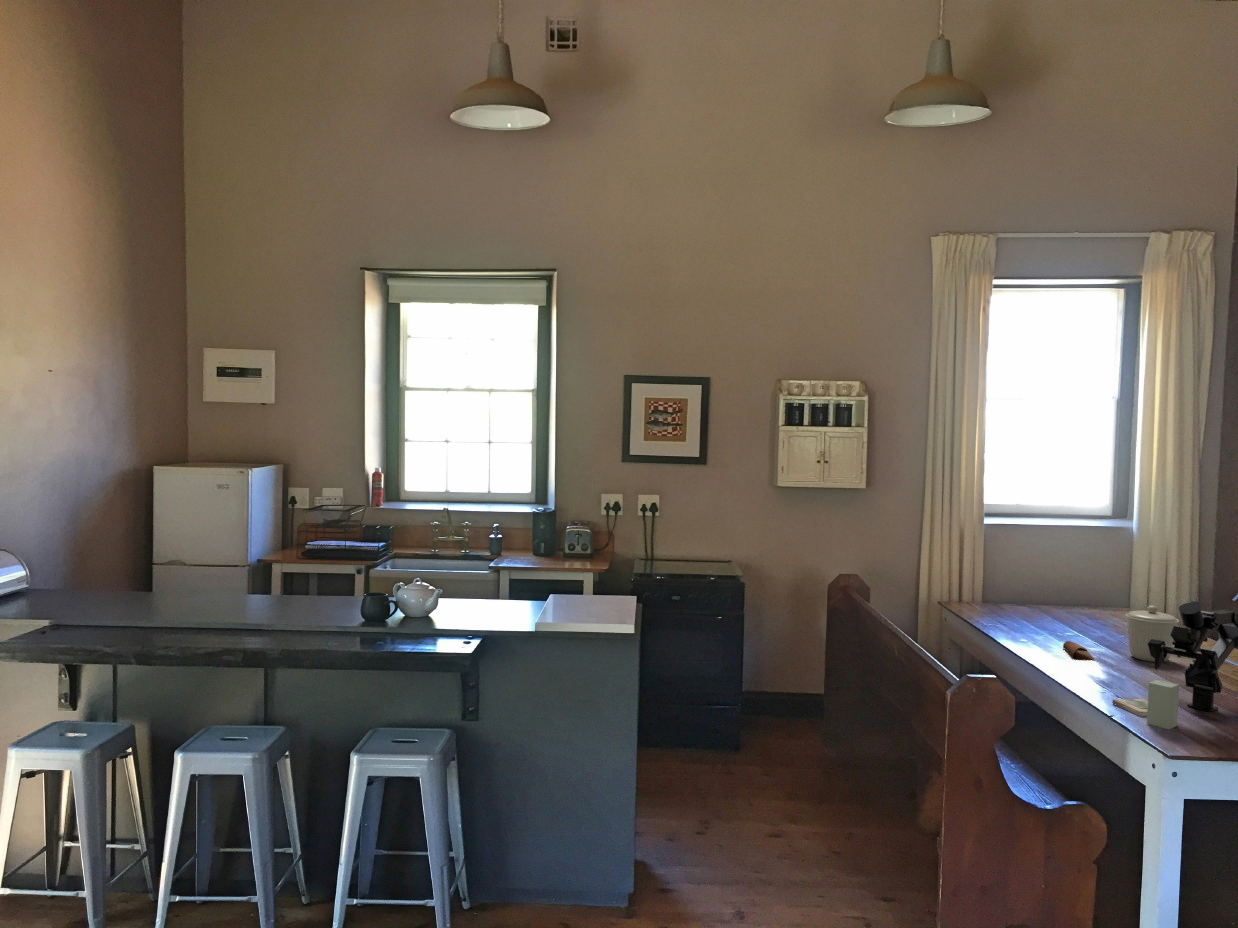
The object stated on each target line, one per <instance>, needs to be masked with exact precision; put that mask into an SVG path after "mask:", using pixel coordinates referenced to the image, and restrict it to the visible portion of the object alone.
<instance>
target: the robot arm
mask: <svg viewBox="0 0 1238 928" xmlns="http://www.w3.org/2000/svg"><path fill="white" fill-rule="evenodd" d="M1178 612H1179V616H1180V619H1181V620H1180V621H1181V623H1182V626H1184V627H1182V626H1173V629H1172V632H1171V634H1170V636H1172V638H1173V639H1174V640H1173V641H1172V644H1173V647H1170V646H1166V645H1165V641H1160V640H1155V639H1151V640H1150V641H1149V642H1148V647H1149V651H1150V654H1151V656H1152V657H1154V659H1155V662H1154V669H1155V670H1158V669H1159V668H1160V667H1161V665H1163V664H1164V661H1165V659H1164V658H1166V656H1167V653H1168V654H1171V655H1173V656H1177V658H1182V659H1186V660H1189V661H1190V660H1191V661H1192V662H1190V663H1189V665H1188V667H1187V668H1186V669H1185V671H1184V678H1185V679H1184V680H1185V687H1189V688H1192V697H1191V698H1192V700H1191V702H1192V703H1188V704H1187V705H1186V707H1189V708H1192V709H1193V708H1194V709H1196V710H1201V711H1204V712H1212V711H1216V710H1219V707H1217V706H1216V705H1215V706H1214V701H1215V694H1216V693H1217V694H1218V693H1219V694H1221V693H1222V690H1223V683H1222V680H1221V679H1220V676H1219V672H1218V671H1219V670H1220V668H1221V667H1222V666H1223V664H1224V662H1226V660H1227V659H1228V657H1229V656H1230V655H1231V653H1232V652H1233V650H1234V649H1236V648H1238V611H1236V610H1229V609H1224V608H1222V609H1218V610H1214V611H1213V610H1212V611H1208V610H1207V611H1206V610H1202V608H1201V606H1200V605H1199V601H1194V600H1191V601H1189V602H1185V603H1183V604H1180V605H1179V607H1178ZM1209 631H1217V633H1218V639H1217V641H1216V642H1215V643H1214V645H1212V647H1211V649H1205V648H1201V646H1202V645H1203V643H1204V642H1205V643H1206V642H1208V639H1209V638H1208V635H1209ZM1165 662H1166V661H1165Z"/></svg>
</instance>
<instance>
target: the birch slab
mask: <svg viewBox="0 0 1238 928" xmlns="http://www.w3.org/2000/svg"><path fill="white" fill-rule="evenodd" d="M1111 702H1112V703H1113V704H1116V705H1117V706H1116V707H1118V706H1119V707H1118V708H1120V707H1122V708H1124V709H1126V710H1125V711H1127V710H1128V711H1127V712H1129V711H1130V712H1129V713H1131V712H1132V713H1131V714H1134V715H1136V716H1138V715H1139V716H1138V717H1147V711H1148V698H1147V699H1146V698H1138V699H1137V698H1136V699H1135V698H1130V699H1129V698H1127V699H1125V698H1122V699H1112V701H1111ZM1113 704H1112V705H1113ZM1122 708H1121V709H1122ZM1124 709H1123V710H1124Z"/></svg>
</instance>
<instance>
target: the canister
mask: <svg viewBox="0 0 1238 928" xmlns="http://www.w3.org/2000/svg"><path fill="white" fill-rule="evenodd" d="M1124 615H1125V618H1126V623H1127V624H1126V625H1127V635H1128V637H1127V638H1128V648H1129V652H1130V655H1131V657H1133V658H1135V659H1137V660H1140V661H1146V662H1152V663H1155V659H1154V657H1152V656H1151V654H1150V651H1149V647H1148V642H1149V641H1150V640H1151V639H1155V640H1160V641H1165V645H1166V646H1170V647H1174V645H1173V644H1172V641H1173V640H1174V639H1173V638H1172V636H1170V634H1171V632H1172V629H1173V626H1177V624H1178V623H1180V620H1179V619H1178V618H1176V617H1175V616H1174V615H1172V614H1168V613H1165V612H1158V607H1157V606H1156V605H1148V606H1147V608H1146V610H1132V611H1129V612H1127V613H1125V614H1124ZM1171 656H1172V654H1168V653H1167V656H1166V658H1164V659H1165V661H1164V662H1167V661H1169V659H1170V658H1171ZM1164 662H1163V663H1164Z"/></svg>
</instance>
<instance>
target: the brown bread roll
mask: <svg viewBox="0 0 1238 928" xmlns="http://www.w3.org/2000/svg"><path fill="white" fill-rule="evenodd" d="M1062 648H1063V649H1064V650H1065V651H1067V653H1068V654H1069V655H1070V656H1071V658H1073V659H1074V660H1079V661H1080V660H1081V661H1091V660H1092V661H1093V662H1095V661H1096V659H1095V658H1094V657H1093V655H1092V654H1091V653H1090V652H1089V651H1088V649H1087V648H1086V647H1084V646H1082V645H1080V644H1078V643H1076V642H1073V641H1071V640H1067V641H1065V642H1063V645H1062Z"/></svg>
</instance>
